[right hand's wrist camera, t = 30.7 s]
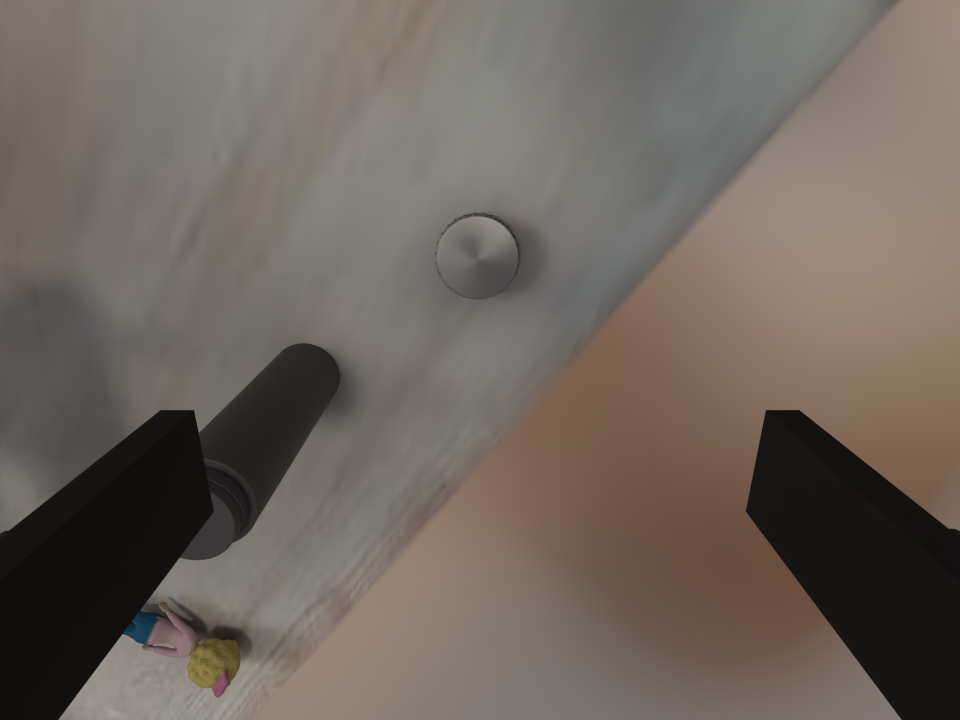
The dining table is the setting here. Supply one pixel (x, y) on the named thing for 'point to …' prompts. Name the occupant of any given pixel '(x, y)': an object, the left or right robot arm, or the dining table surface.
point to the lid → (477, 256)
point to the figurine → (188, 648)
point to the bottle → (260, 442)
